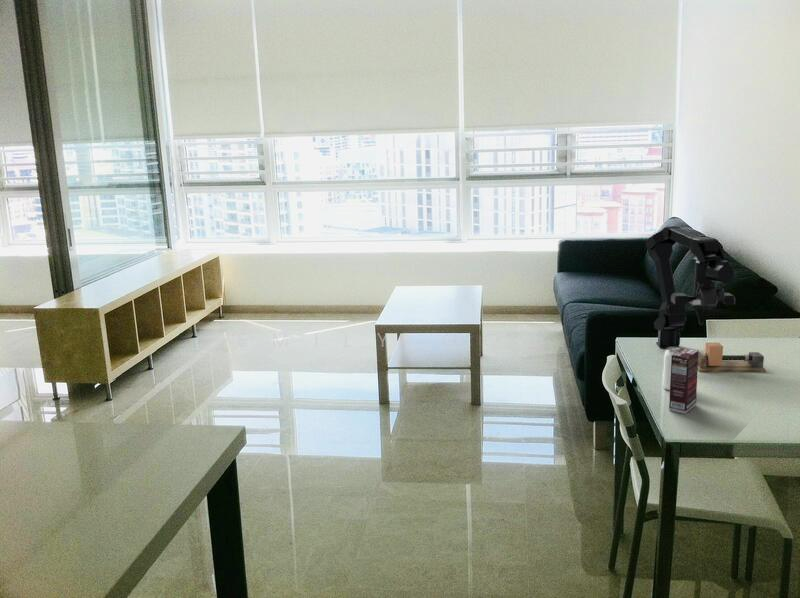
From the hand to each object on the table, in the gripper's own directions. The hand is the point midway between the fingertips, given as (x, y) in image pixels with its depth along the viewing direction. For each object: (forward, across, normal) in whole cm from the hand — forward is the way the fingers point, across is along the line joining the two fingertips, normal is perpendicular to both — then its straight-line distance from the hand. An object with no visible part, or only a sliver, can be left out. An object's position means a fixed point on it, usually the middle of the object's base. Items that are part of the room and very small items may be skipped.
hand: (701, 324), depth 244 cm
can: (+12, -15, -28) cm, 34 cm away
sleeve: (+11, +2, -8) cm, 14 cm away
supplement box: (+12, -17, -44) cm, 49 cm away
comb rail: (+12, +6, -8) cm, 16 cm away
